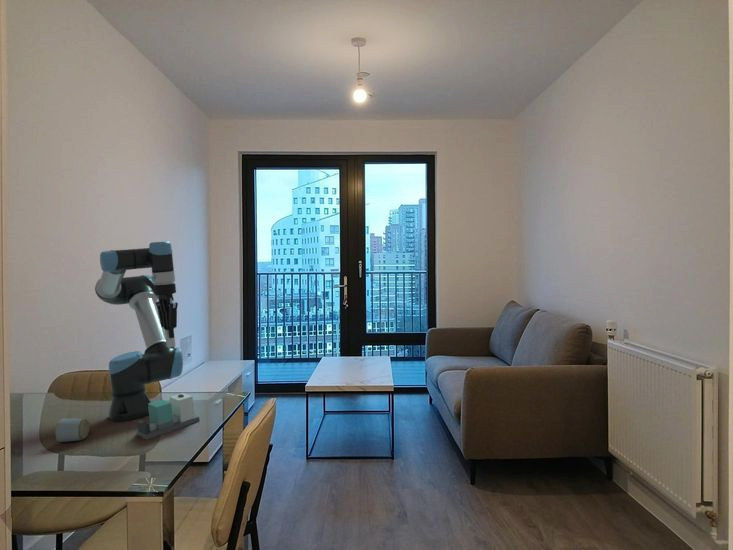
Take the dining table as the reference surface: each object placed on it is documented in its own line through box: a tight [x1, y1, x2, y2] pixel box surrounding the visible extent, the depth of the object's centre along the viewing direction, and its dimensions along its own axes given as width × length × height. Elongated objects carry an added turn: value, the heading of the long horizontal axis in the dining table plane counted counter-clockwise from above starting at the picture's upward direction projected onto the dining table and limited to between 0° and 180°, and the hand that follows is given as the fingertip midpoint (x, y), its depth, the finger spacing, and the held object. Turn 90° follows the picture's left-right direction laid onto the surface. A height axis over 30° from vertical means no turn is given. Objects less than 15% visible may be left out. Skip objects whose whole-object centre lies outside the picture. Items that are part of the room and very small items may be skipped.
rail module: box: [148, 399, 173, 430], centre depth 170 cm, size 5×7×8 cm
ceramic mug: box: [55, 417, 90, 443], centre depth 168 cm, size 11×8×8 cm
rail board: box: [135, 392, 200, 440], centre depth 172 cm, size 19×8×10 cm, turn 138°
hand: (171, 346), depth 182 cm, fingers closed
